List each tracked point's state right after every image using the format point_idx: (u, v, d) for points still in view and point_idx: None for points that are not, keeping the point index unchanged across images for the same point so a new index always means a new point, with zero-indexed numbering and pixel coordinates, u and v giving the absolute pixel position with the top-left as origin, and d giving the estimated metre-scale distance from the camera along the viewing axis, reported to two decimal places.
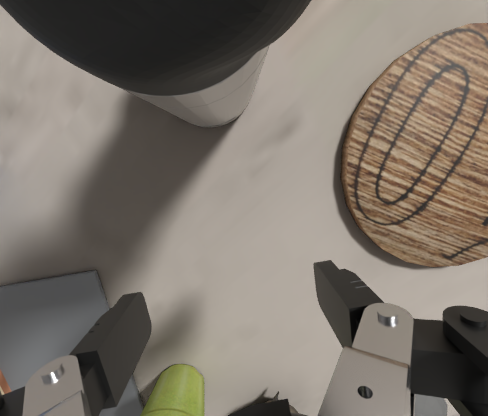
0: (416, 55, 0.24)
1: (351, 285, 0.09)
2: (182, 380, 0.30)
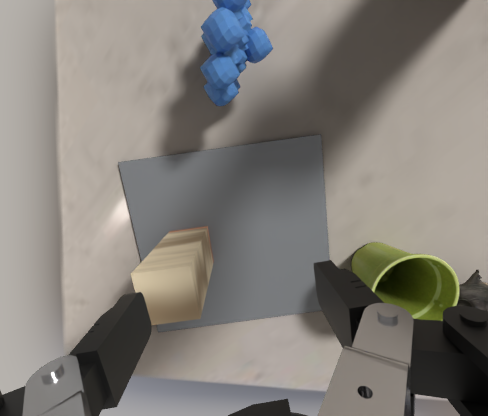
0: None
1: (351, 285, 0.09)
2: None
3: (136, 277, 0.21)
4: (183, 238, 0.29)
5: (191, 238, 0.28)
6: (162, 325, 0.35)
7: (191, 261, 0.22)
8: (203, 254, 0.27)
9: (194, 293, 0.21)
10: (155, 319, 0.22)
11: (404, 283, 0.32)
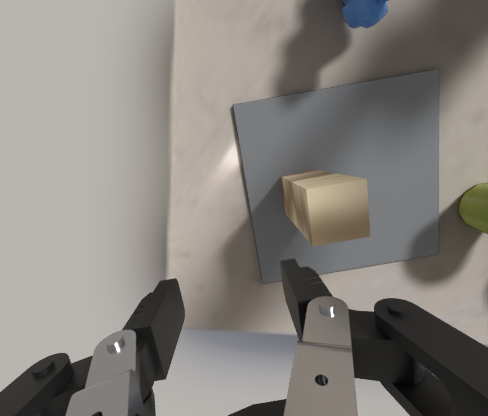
0: None
1: (305, 281, 0.10)
2: None
3: (310, 193, 0.20)
4: (310, 175, 0.28)
5: (320, 174, 0.28)
6: (267, 276, 0.35)
7: (360, 178, 0.21)
8: None
9: (367, 209, 0.21)
10: (325, 238, 0.21)
11: None
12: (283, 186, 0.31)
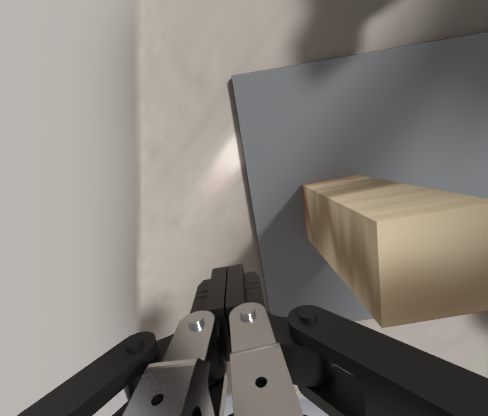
0: None
1: (241, 287, 0.10)
2: None
3: (385, 229, 0.10)
4: (353, 185, 0.18)
5: (369, 183, 0.18)
6: None
7: (475, 197, 0.11)
8: None
9: None
10: (407, 313, 0.11)
11: None
12: (306, 200, 0.21)
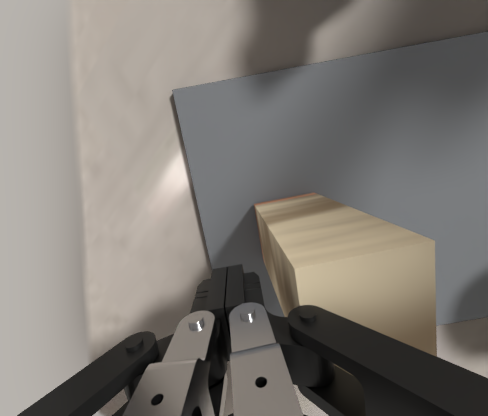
0: None
1: (241, 287, 0.10)
2: None
3: (306, 277, 0.09)
4: (301, 207, 0.16)
5: (318, 205, 0.16)
6: None
7: (412, 233, 0.10)
8: None
9: (433, 305, 0.09)
10: None
11: None
12: (258, 221, 0.19)
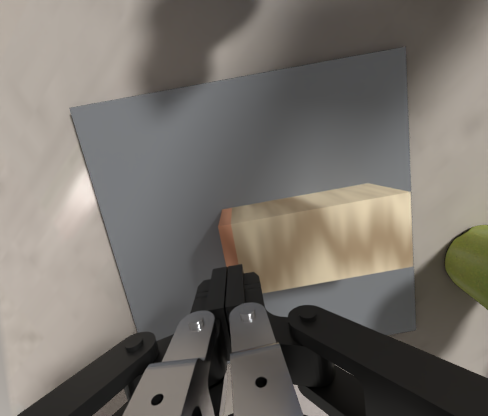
0: None
1: (241, 287, 0.10)
2: None
3: (406, 197, 0.16)
4: (275, 206, 0.18)
5: (277, 202, 0.19)
6: None
7: (357, 185, 0.20)
8: None
9: None
10: None
11: None
12: (240, 240, 0.16)
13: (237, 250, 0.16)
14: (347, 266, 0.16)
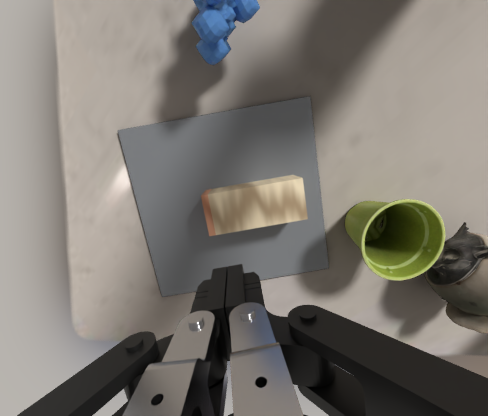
0: None
1: (241, 287, 0.10)
2: None
3: (302, 181, 0.29)
4: (235, 186, 0.32)
5: (237, 185, 0.33)
6: (166, 290, 0.37)
7: (286, 176, 0.34)
8: None
9: None
10: None
11: (395, 237, 0.34)
12: (212, 203, 0.29)
13: (211, 209, 0.29)
14: (271, 218, 0.30)
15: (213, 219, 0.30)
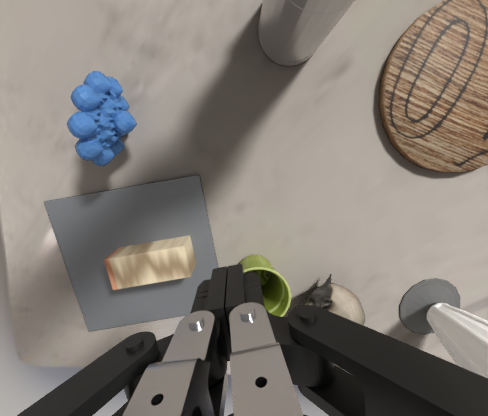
0: (433, 13, 0.35)
1: (241, 287, 0.10)
2: (261, 259, 0.41)
3: (184, 247, 0.37)
4: (137, 248, 0.39)
5: (142, 245, 0.40)
6: (91, 326, 0.45)
7: (184, 236, 0.42)
8: None
9: None
10: (191, 270, 0.39)
11: (273, 286, 0.42)
12: (113, 265, 0.37)
13: (112, 269, 0.37)
14: (161, 276, 0.38)
15: (115, 277, 0.37)
